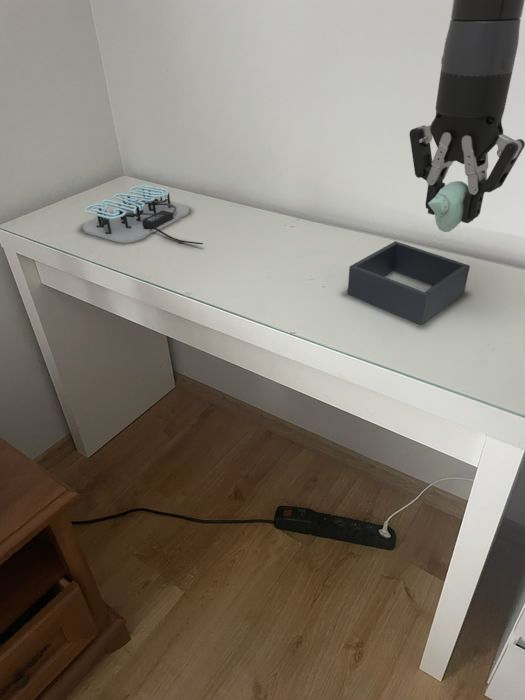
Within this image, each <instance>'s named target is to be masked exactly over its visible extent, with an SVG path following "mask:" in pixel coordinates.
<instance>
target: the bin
mask: <svg viewBox="0 0 525 700" xmlns="http://www.w3.org/2000/svg"><path fill="white" fill-rule="evenodd" d="M470 268H471V265H470V264H468V263H467V264H466V263H463V262H461V261H457V260H454V259H452V258H448V257H446V256H442V255H439V254H436V253H433V252H430V251H427V250H424V249H421V248H417V247H415V246H411V245H409V244H405V243H402V242H400V241H396V240H395V241H393V242H391V243H389V244H387V245H385V246H384V247H382V248H380V249H379V250H377V251H374V252H373V253H371V254H369V255H368V256H366V257H364V258H362V259H360V260H358V261H357V262H355V263H353V264H351V265H350V266H349V269H348V282H347V283H348V284H347V295H348V296H351V297H354V298H355V299H358V300H360V301H363V302H366V303H368V304H370V305H373V306H374V307H377V308H379V309H382V310H384V311H386V312H389V313H392V314H394V315H396V316H399V317H401V318H403V319H406V320H408V321H410V322H412V323H415V324H418V325H419V326H422V325H424V324H425V323H427V321H429V320H431V319H432V318H434V317H435V316H436V315H438V314H439V313H441V311H442V310H444V309H446V308H447V307H448V306H449V305H451V304H452V303H453V302H455V301H457V300H458V299H459V298H460V297H462V296H463V295H464V294H465V290H466V285H467V282H468V277H469V272H470ZM393 271H394V272H397V273H399V274H402V275H404V276H407V277H410V278H412V279H416V280H417V281H420V282H424V283H426V284H429V285H431V287H430V288H428V289H427V290H425V291H424V290H420V289H417V288H415V287H412V286H410V285H408V284H404V283H402V282H399V281H396V280H394V279H391V278H389V277H386V275H388V274H389V273H392V272H393Z"/></svg>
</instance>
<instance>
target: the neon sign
mask: <svg viewBox="0 0 525 700" xmlns="http://www.w3.org/2000/svg"><path fill="white" fill-rule="evenodd" d="M134 190H135V191H134ZM128 191H129V193H131V194H129V193H121V192H120V193H115V194H114V195H113V197H112V198H114V199H116V200H119V201H121V202H119V201H115V200H110V199H103V200H101V203H93V204H91V205H88V206H87V207H85V208H84V211H85V213H87V214H90V215H93V216H97V217H96V218H94V219H91V220H88V221H87V222H84V224H83V225H82V230H83V232H84V233H86V234H88V235H92V236H95V237H98V238H102V239H105V240H109V241H113V242H116V243H120V244H121V243H122V244H126V243H128V244H129V243H133V242H138V241H141V240H143V239H145V238H146V237H148V236H149V235H150V234H153V233H156V232H159V233H160V234H162V235H163V236H165V237H166V238H168V239H171V240H173V241H176V242H180V243H185V244H194V245H204V243H203V242H199V241H198V242H197V241H188V240H182V239H178V238H176V237H173V236H171V235H169V234H167V233H166V232H164V231H162V229H163V228H165V227H167V226H169V225H171V224H173V223H174V222H177V221H178V220H180V219H181V218H184V217H186V216H188V215H189V214H190V208H189V207H188V206H187V205H185V204H181V203H177V202H173V201H171V198H170V195H171V194H170V191H169V190H168V189H166V188H162V187H156V186H152V185H145V184H143V185H142V184H139V185H136V186H133V187H131V188H129V189H128ZM119 196H121V197H119ZM158 198H159V199H158ZM163 198H164V199H163ZM109 207H114V209H113V210H112V211H111V212H108V211H107V209H109ZM89 209H91V210H89Z"/></svg>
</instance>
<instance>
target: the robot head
mask: <svg viewBox="0 0 525 700" xmlns="http://www.w3.org/2000/svg"><path fill="white" fill-rule="evenodd" d="M467 193H469V190H468V183H466V182H464V181H462V180H461V181H460V180H457V181H451V182H449V183H447V184H445V186H444V187H443V188H441V189H440V191H439V192H438V194H437V195H436V197H435V198H433V199H432V200H431V201H430V202H429V203H428V205H429V206H430V207H431V209H432V210H433V211H434V219H435V225H436V226H437V229H438V230H439V231H441V232H443V233H450V232H451V231H452V230H454V229H455V228H456V227H458V226H459V225H460V223H462V215H463V210H464V204H465V199H466V194H467Z"/></svg>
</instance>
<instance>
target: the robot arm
mask: <svg viewBox="0 0 525 700" xmlns="http://www.w3.org/2000/svg"><path fill="white" fill-rule="evenodd" d="M524 6H525V0H452V7H451V15H450V21H449V26H448V30H447V33H446V38H445V42H444V46H443V52H442V56H441V63H440V64H441V67H440V73H439V80H438V86H437V87H438V88H437V95H436V102H435V116H434V119H433V121H432V122H431V123H430V125H420V126H417V127H414V128H412V129H411V130H410V131H409V135H408V136H409V141H410V148H411V155H412V163H413V169H414V175H415V177H416V178H417V179H421V178H422V179H423V180H425V181H426V184H427V191H426V198H425V209H427V214H429V215H433V216H435V214H434V211H433V210H432V209H431V207H430V206H429V205H428V203H429V202H430V201H431V200H432V199H433V198H435V197H436V195H437V194H438V192H439V191H440V189H441V188H443V187H444V186H445V185H446V182H444V180H445V178H446V176H447V174H448V172H449V169H450V167H451V166H452V165H453V164H454V162H458V163H460V164H462V165H464V174H465V176H467V185H468V190H469V193H467V194H466V199H465V204H464V210H463V215H462V221H461V223H465V224H470V223H471V222H473V221H474V220H475V219H476V218H478V217H479V216H480V214H481V211H482V205H483V201H484V195H485V193H491V192H493V191H495V190H496V189H499V188H500V187H502V186H503V185H504V183H505V182H506V179H507V177H508V176H509V174H510V172H511V171H512V169H513V167H514V166H515V164H516V162H517V160H518V158H519V157H520V155H521V153H522V151H523V150H524V148H525V141H524V139H523V138H518V139H514V138H511V136H510V137H509V136H508V135H506V134H504V128H503V124H502V121H503V116H504V113H505V109H506V104H507V100H508V95H509V91H510V85H511V80H512V76H513V72H514V71H513V70H514V66H515V61H516V56H517V52H518V46H519V39H520V28H521V21H522V20H521V18H522V15H523V11H524ZM432 140H434V143H435V145H436V147H437V149H436V152H435V154H434V156H432V149H431V143H432ZM496 145H497V151H496V155H497V157H498V159H497V161H496V163H495V165H493V168H492V170H491V171H490V173H489V176H488V172H487V171H488V169H489V154H488V153H489V152H490V151H491V150H493V148H494V147H495V146H496Z"/></svg>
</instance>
